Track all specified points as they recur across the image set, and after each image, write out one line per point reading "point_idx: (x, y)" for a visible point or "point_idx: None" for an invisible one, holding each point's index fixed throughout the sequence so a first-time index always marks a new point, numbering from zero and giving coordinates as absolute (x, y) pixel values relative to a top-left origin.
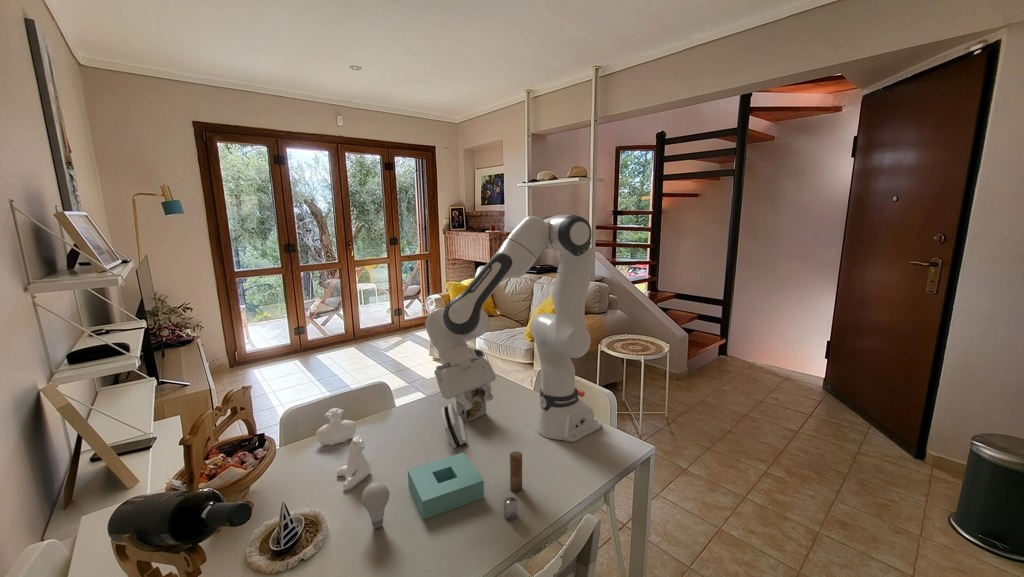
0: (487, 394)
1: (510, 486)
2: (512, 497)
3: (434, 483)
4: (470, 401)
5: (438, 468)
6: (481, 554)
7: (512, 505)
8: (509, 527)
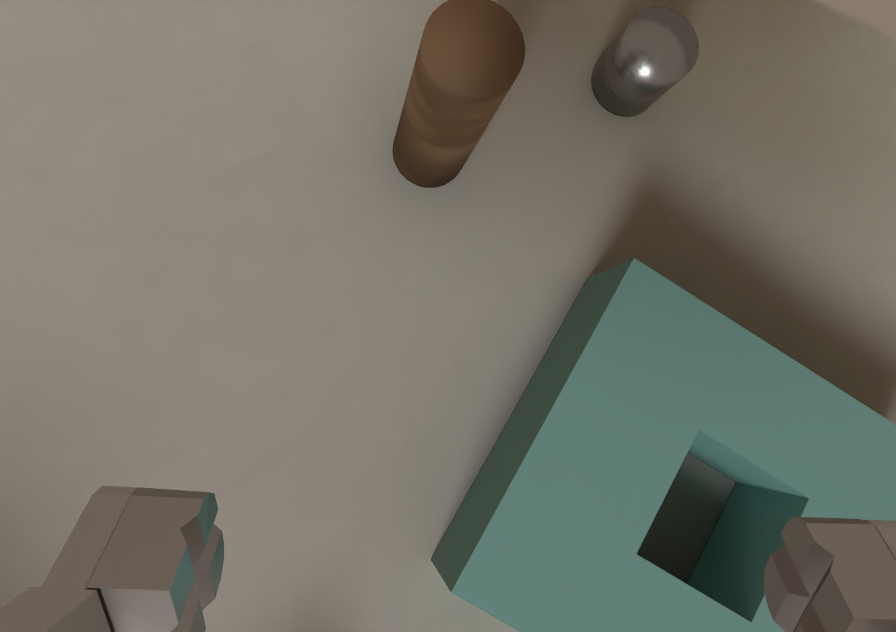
0: (174, 604)
1: (459, 170)
2: (629, 48)
3: None
4: (848, 604)
5: (699, 614)
6: (865, 93)
7: (681, 20)
8: None
